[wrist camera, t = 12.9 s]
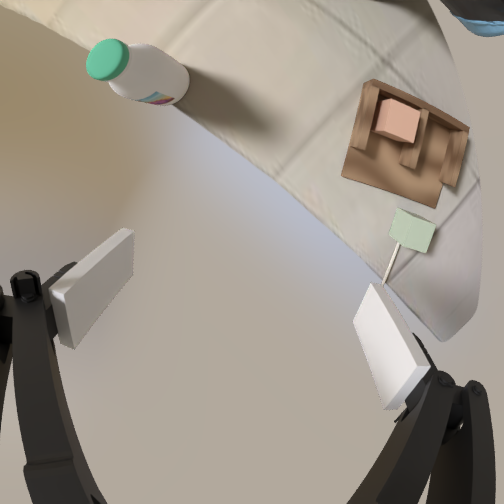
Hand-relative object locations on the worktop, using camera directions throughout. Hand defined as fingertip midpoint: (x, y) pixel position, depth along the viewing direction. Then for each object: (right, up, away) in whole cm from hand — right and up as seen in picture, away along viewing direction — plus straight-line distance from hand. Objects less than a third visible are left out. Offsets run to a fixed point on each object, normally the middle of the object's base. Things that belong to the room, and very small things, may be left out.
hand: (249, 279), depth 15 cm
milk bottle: (-13, +28, +23) cm, 39 cm away
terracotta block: (+21, +22, +23) cm, 38 cm away
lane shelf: (+25, +19, +25) cm, 40 cm away
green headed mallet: (+25, 0, +34) cm, 42 cm away
